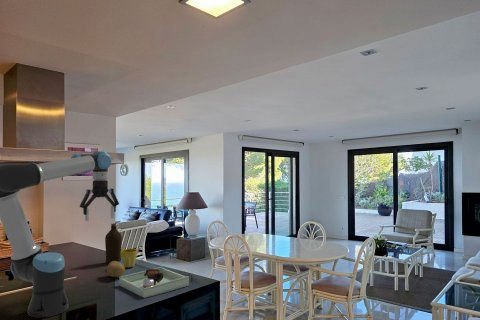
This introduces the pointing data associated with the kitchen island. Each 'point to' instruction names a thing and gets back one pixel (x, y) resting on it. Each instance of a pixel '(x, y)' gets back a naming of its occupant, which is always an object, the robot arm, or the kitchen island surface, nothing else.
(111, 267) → the potato
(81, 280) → the kitchen island surface
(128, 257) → the plant pot
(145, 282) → the tin
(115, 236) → the olive oil
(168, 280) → the tray
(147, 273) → the pottery mug
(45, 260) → the robot arm
